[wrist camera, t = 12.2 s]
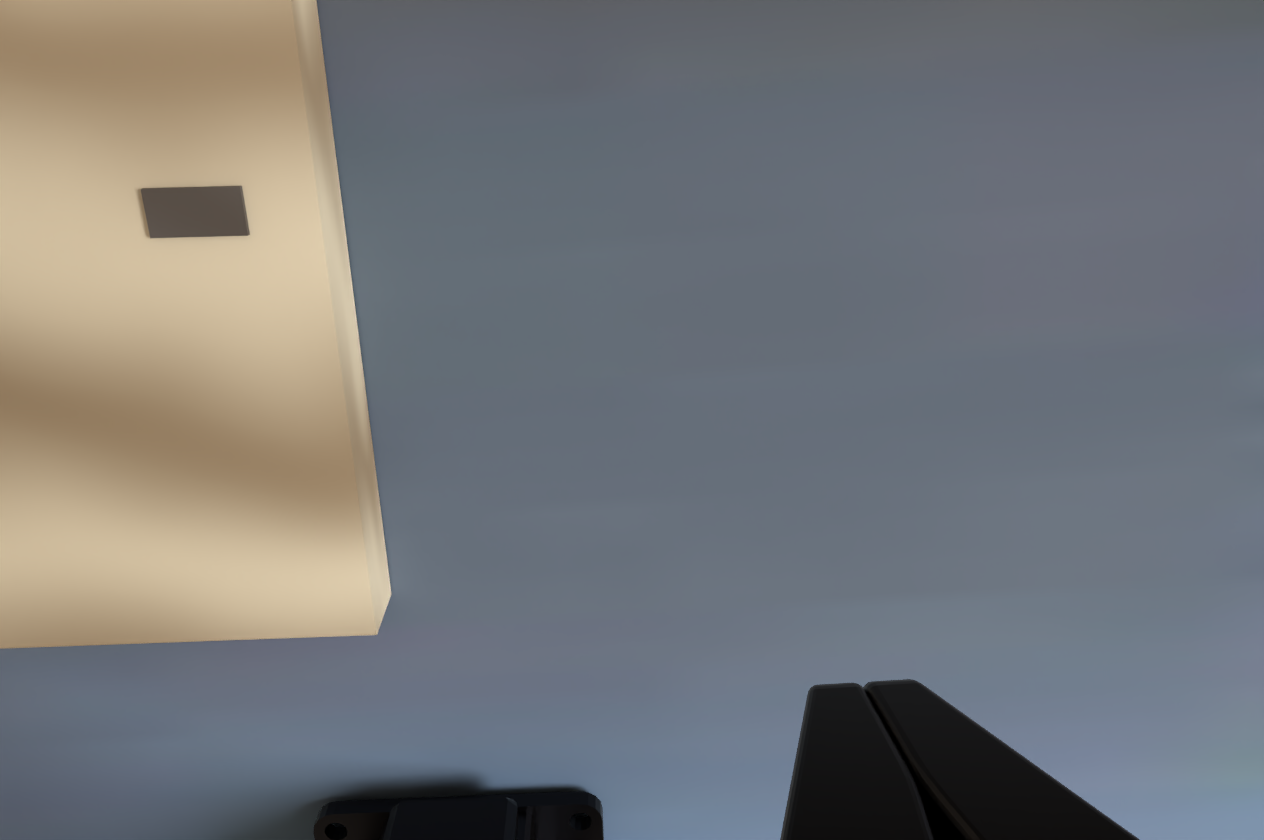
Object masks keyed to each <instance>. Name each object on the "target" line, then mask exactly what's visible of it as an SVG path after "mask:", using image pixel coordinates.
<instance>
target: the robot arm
mask: <svg viewBox="0 0 1264 840" xmlns="http://www.w3.org/2000/svg"><path fill="white" fill-rule="evenodd" d="M577 813H585V814H587V816H585V817H575V816H574V814H577ZM331 823H340V824H342V825H344V826H345V827H337V826H335V825H333V824H331ZM314 837H315V840H604V836H603V810H602V805H601V801H600V800H599V799H598V798H597V797H596V796H595V795H592V794H590V793H588V792H556V793H531V794H506V795H482V796H457V797H432V798H407V799H382V800H357V801H336V802H331V803H328V804H327V805H325V806H323V807H322V809H321V810H320V812H319V814H318V817H317V819H316V822H315V825H314ZM780 840H1139V839H1138V838H1137V837H1135V836H1134V835H1132V834H1131V833H1130V832H1128V831H1127V830H1125V829H1124V828H1123V827H1121V826H1120V825H1118V824H1117V823H1116V822H1114V821H1113V820H1111V819H1110V818H1109V817H1107V816H1106V815H1104V814H1103V813H1102V812H1100V811H1099V810H1097V809H1096V808H1095V807H1093V806H1092V805H1090V804H1089V803H1088V802H1086V801H1085V800H1083V799H1082V798H1081V797H1079V796H1078V795H1076V794H1075V793H1074V792H1072V791H1071V790H1069V789H1068V788H1067V787H1065V786H1064V785H1062V784H1061V783H1060V782H1058V781H1057V780H1055V779H1054V778H1053V777H1051V776H1050V775H1048V774H1047V773H1046V772H1044V771H1043V770H1041V769H1040V768H1039V767H1037V766H1036V765H1034V764H1033V763H1032V762H1030V761H1029V760H1027V759H1026V758H1025V757H1023V756H1022V755H1020V754H1019V753H1018V752H1016V751H1015V750H1014V749H1012V748H1011V747H1009V746H1008V745H1007V744H1005V743H1004V742H1002V741H1001V740H1000V739H998V738H997V737H995V736H994V735H993V734H991V733H990V732H988V731H987V730H986V729H984V728H983V727H981V726H980V725H979V724H977V723H976V722H974V721H973V720H972V719H970V718H969V717H967V716H966V715H965V714H963V713H962V712H960V711H959V710H958V709H956V708H955V707H953V706H952V705H951V704H949V703H948V702H946V701H945V700H944V699H942V698H941V697H939V696H938V695H937V694H935V693H934V692H932V691H931V690H930V689H928V688H927V687H925V686H924V685H923V684H921V683H919V682H917V681H915V680H910V679H906V680H890V681H874V682H868V683H867V684H866V685H865V686H864V687H862V686H861V685H859V684H856V683H840V684H822V685H814V686H813V687H811V688H810V690H809V691H808V696H807V701H806V706H805V711H804V717H803V722H802V727H801V732H800V738H799V743H798V748H797V754H796V759H795V764H794V770H793V775H792V780H791V785H790V791H789V796H788V801H787V807H786V812H785V817H784V822H783V828H782V833H781V838H780Z"/></svg>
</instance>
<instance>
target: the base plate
mask: <svg viewBox="0 0 1264 840" xmlns="http://www.w3.org/2000/svg"><path fill="white" fill-rule="evenodd" d="M390 597H391V587H390V580H389V572H388V564H387V556H386V548H385V540H384V532H383V524H382V516H381V508H380V500H379V493H378V485H377V477H376V469H375V461H374V453H373V445H372V437H371V429H370V421H369V413H368V405H367V398H366V390H365V382H364V374H363V366H362V358H361V350H360V342H359V334H358V326H357V318H356V311H355V303H354V295H353V287H352V279H351V271H350V263H349V255H348V247H347V239H346V231H345V224H344V216H343V208H342V200H341V192H340V184H339V176H338V168H337V160H336V152H335V144H334V137H333V129H332V121H331V113H330V105H329V97H328V89H327V81H326V73H325V65H324V57H323V50H322V42H321V34H320V26H319V18H318V10H317V2H316V0H0V648H28V647H55V646H83V645H111V644H138V643H166V642H193V641H221V640H249V639H276V638H304V637H331V636H359V635H377V633H378V630H379V627H380V625H381V622H382V619H383V616H384V613H385V611H386V608H387V605H388V602H389V599H390Z"/></svg>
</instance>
